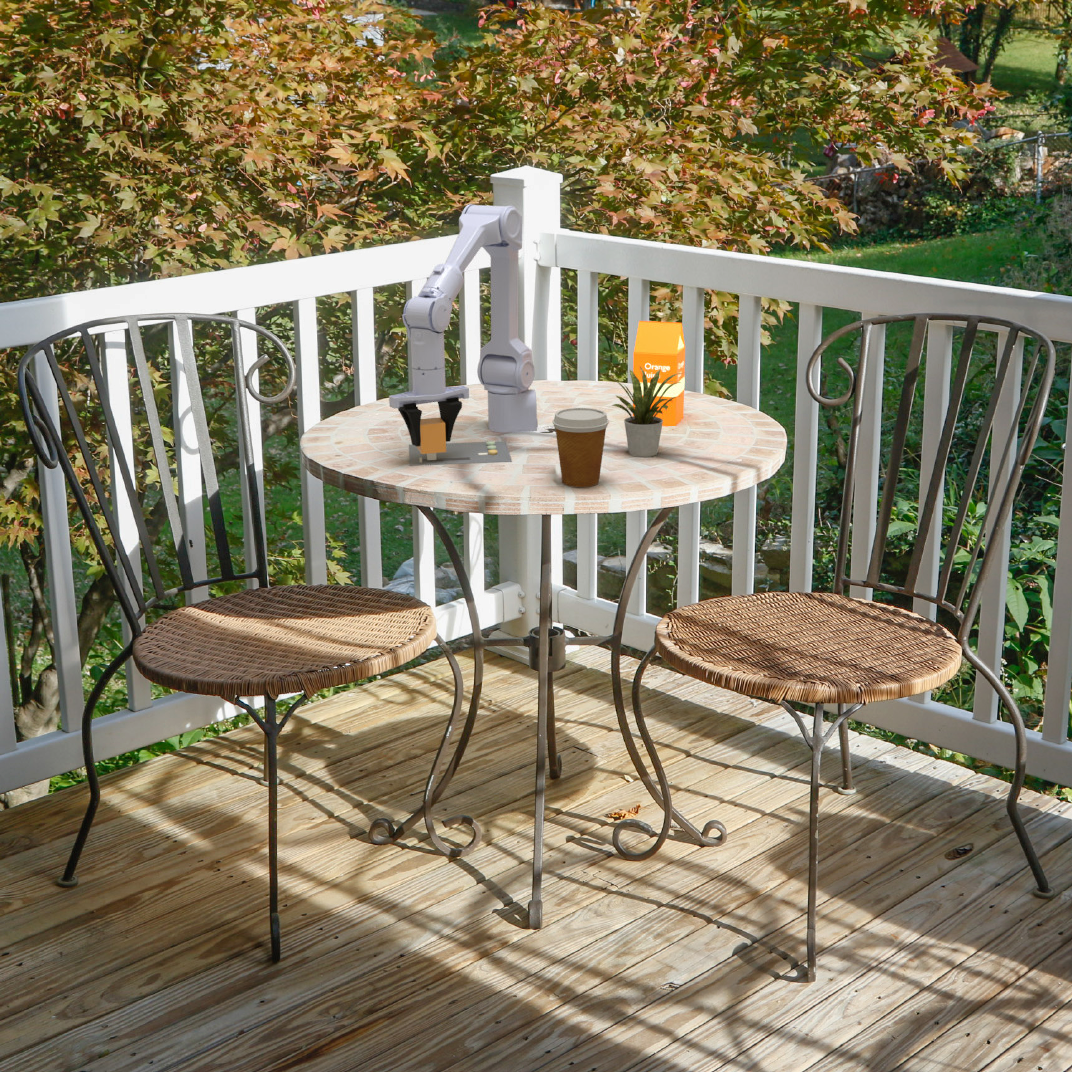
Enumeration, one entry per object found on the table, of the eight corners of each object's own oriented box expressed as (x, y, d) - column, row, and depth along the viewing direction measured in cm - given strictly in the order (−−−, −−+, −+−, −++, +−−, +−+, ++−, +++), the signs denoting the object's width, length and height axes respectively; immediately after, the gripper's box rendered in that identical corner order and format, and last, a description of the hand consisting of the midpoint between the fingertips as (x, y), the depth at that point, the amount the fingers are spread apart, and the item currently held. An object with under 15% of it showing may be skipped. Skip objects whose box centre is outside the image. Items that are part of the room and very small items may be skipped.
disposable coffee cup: (612, 489, 219) (612, 419, 215) (555, 491, 219) (555, 421, 215) (604, 473, 228) (605, 406, 224) (550, 475, 228) (549, 407, 224)
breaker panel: (506, 448, 244) (505, 438, 243) (512, 469, 231) (511, 458, 230) (409, 452, 242) (408, 441, 242) (409, 473, 229) (409, 462, 229)
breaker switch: (436, 457, 233) (435, 441, 232) (436, 460, 231) (435, 443, 230) (427, 457, 233) (426, 441, 232) (427, 460, 231) (426, 443, 230)
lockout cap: (441, 445, 234) (440, 417, 232) (446, 452, 230) (445, 423, 228) (417, 447, 233) (415, 419, 231) (421, 454, 229) (420, 425, 227)
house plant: (704, 453, 240) (707, 365, 234) (656, 468, 230) (657, 377, 225) (644, 439, 249) (646, 354, 244) (596, 454, 240) (596, 366, 235)
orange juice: (675, 427, 258) (677, 326, 251) (632, 424, 261) (633, 324, 254) (683, 417, 265) (686, 319, 258) (641, 415, 268) (643, 317, 261)
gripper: (455, 358, 233) (457, 432, 238) (380, 367, 226) (384, 443, 231) (473, 365, 227) (475, 440, 232) (397, 374, 220) (401, 452, 225)
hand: (431, 442), depth 231 cm, fingers closed on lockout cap, 5 cm apart
